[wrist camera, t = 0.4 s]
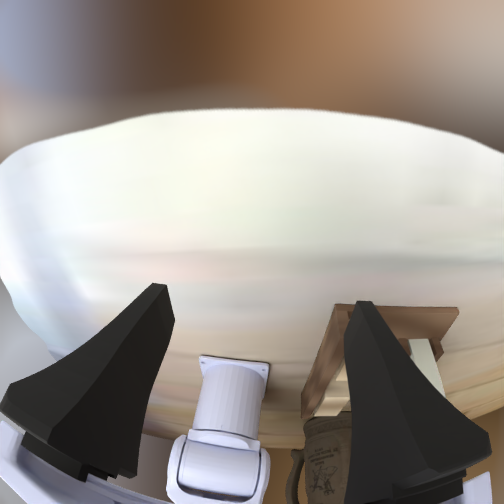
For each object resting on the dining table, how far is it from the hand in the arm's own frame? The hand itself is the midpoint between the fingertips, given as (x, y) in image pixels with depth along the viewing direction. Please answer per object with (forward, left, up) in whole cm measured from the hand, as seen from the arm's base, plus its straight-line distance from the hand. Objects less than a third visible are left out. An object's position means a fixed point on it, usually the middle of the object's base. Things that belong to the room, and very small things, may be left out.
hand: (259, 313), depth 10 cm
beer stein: (-40, -13, -10) cm, 44 cm away
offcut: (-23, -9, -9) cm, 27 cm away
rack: (-18, -13, -10) cm, 25 cm away
